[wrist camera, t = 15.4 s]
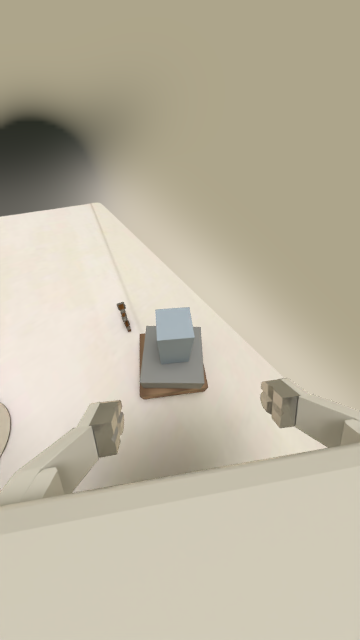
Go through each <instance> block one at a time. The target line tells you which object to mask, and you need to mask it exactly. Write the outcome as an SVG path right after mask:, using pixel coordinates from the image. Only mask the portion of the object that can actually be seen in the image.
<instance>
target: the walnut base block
mask: <svg viewBox="0 0 360 640" xmlns="http://www.w3.org/2000/svg"><path fill="white" fill-rule="evenodd" d="M144 342H145V334H140V375H141V367H142V359H143V351H144ZM203 369H204V365H203ZM207 388H208V384H207V380H206V375H205V370H204V385H203V386H202V387H201V389H183V388H143V387H142V385H141V384H140V397H141V398H143V399H150V398H157V397H165V396H172V395H180V394H188V393H195V392H203V391H205V390H206V389H207Z"/></svg>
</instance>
